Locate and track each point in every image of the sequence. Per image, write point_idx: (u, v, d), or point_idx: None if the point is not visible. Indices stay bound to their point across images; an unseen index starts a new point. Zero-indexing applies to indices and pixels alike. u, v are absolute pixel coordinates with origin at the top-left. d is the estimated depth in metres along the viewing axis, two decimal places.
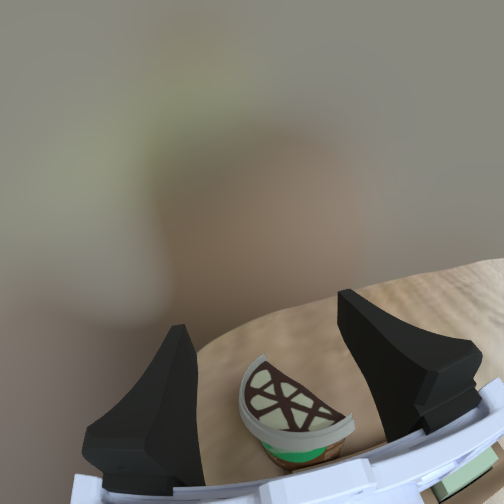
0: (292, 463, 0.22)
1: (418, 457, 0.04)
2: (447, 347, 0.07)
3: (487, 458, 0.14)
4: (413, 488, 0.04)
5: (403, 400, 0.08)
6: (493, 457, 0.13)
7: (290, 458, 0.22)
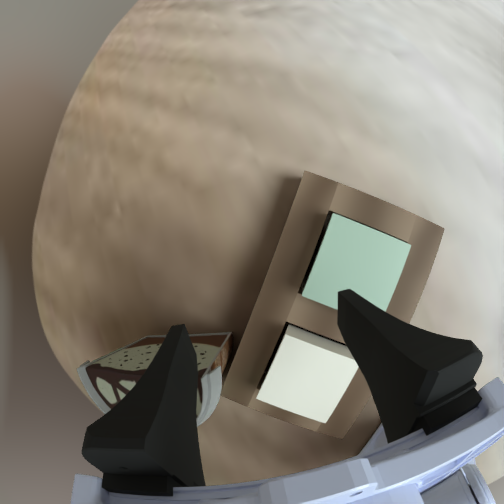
0: None
1: (418, 457, 0.04)
2: (447, 348, 0.07)
3: (395, 254, 0.18)
4: (413, 488, 0.04)
5: (403, 400, 0.08)
6: (403, 248, 0.18)
7: None
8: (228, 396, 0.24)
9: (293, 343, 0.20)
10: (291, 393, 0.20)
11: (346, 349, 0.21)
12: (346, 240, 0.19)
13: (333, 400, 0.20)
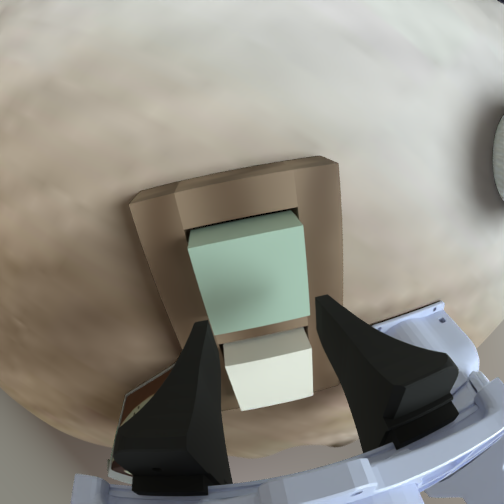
0: None
1: (418, 457, 0.04)
2: (420, 361, 0.07)
3: (288, 246, 0.15)
4: (413, 488, 0.04)
5: (374, 412, 0.08)
6: (294, 234, 0.15)
7: None
8: None
9: (237, 368, 0.19)
10: (266, 395, 0.21)
11: (291, 335, 0.21)
12: (222, 266, 0.15)
13: (307, 381, 0.21)
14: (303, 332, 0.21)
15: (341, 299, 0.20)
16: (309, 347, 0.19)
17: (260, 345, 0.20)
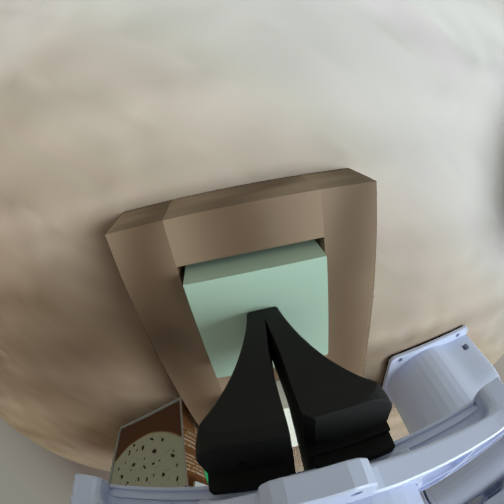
0: None
1: (418, 457, 0.04)
2: (344, 389, 0.07)
3: (308, 281, 0.12)
4: (413, 488, 0.04)
5: (300, 434, 0.08)
6: (316, 266, 0.12)
7: None
8: None
9: None
10: None
11: None
12: (226, 306, 0.12)
13: None
14: None
15: (366, 339, 0.16)
16: None
17: None
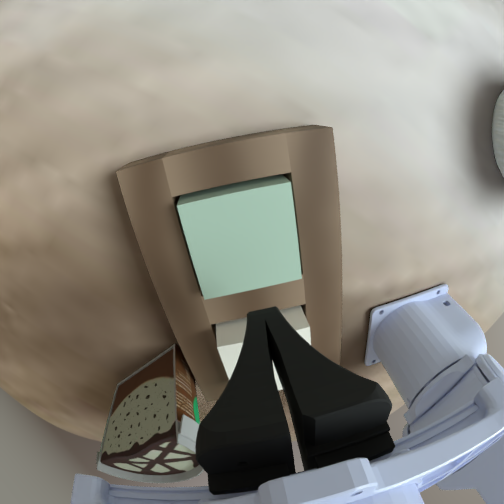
0: None
1: (418, 457, 0.04)
2: (344, 389, 0.07)
3: (276, 203, 0.15)
4: (413, 488, 0.04)
5: (300, 434, 0.08)
6: (282, 191, 0.15)
7: None
8: (215, 398, 0.23)
9: (230, 349, 0.18)
10: None
11: (287, 314, 0.20)
12: (211, 224, 0.15)
13: None
14: (301, 311, 0.20)
15: (340, 275, 0.19)
16: (307, 326, 0.18)
17: None
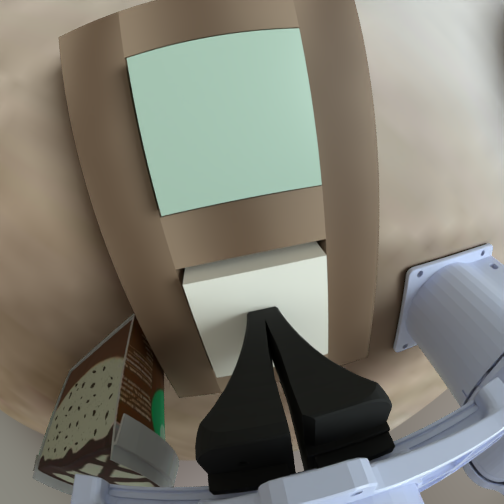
0: None
1: (418, 457, 0.04)
2: (344, 389, 0.07)
3: (279, 55, 0.08)
4: (413, 488, 0.04)
5: (300, 434, 0.08)
6: (287, 39, 0.08)
7: None
8: (190, 394, 0.16)
9: (203, 289, 0.12)
10: None
11: None
12: (174, 82, 0.08)
13: (319, 324, 0.14)
14: None
15: (377, 194, 0.12)
16: (322, 255, 0.12)
17: (243, 256, 0.13)
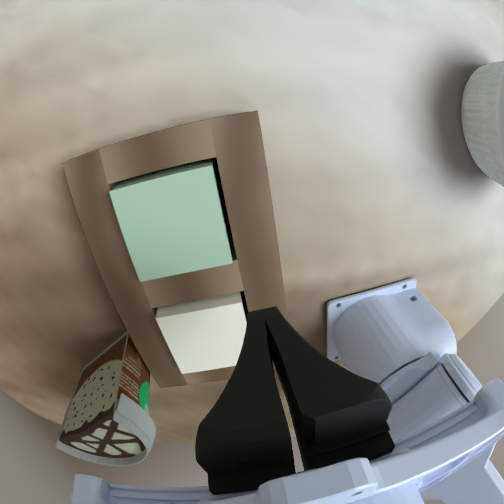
0: (149, 384, 0.24)
1: (418, 457, 0.04)
2: (344, 388, 0.07)
3: (199, 187, 0.16)
4: (413, 488, 0.04)
5: (300, 434, 0.08)
6: (204, 174, 0.15)
7: None
8: (167, 385, 0.23)
9: (167, 321, 0.19)
10: (204, 356, 0.21)
11: None
12: (139, 208, 0.16)
13: None
14: None
15: (278, 261, 0.19)
16: (239, 302, 0.19)
17: None
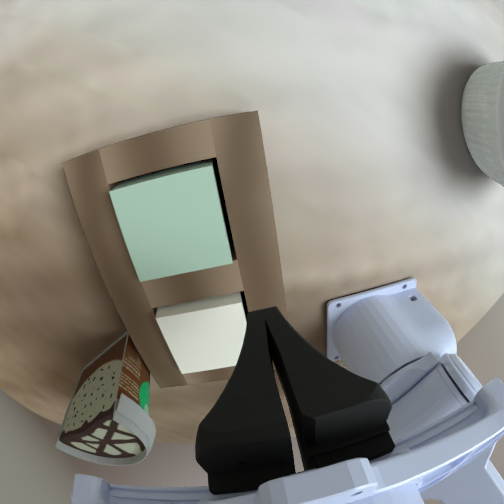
0: None
1: (418, 457, 0.04)
2: (344, 388, 0.07)
3: (199, 187, 0.16)
4: (413, 488, 0.04)
5: (300, 434, 0.08)
6: (204, 174, 0.15)
7: None
8: (167, 385, 0.23)
9: (167, 321, 0.19)
10: (204, 356, 0.21)
11: None
12: (139, 208, 0.16)
13: None
14: None
15: (278, 261, 0.19)
16: (239, 302, 0.19)
17: None
